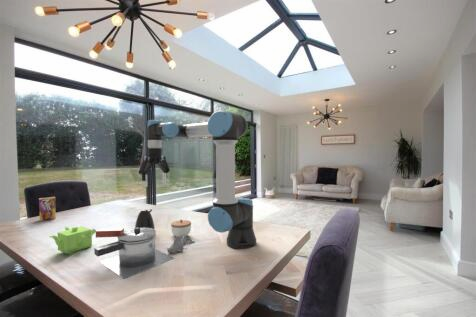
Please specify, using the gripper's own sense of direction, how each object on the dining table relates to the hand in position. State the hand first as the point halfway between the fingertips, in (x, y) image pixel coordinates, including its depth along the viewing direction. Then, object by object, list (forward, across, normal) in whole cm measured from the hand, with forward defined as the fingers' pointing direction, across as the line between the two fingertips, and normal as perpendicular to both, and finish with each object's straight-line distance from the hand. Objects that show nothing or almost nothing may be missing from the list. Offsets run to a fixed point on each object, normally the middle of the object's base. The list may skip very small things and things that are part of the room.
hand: (155, 185), depth 137 cm
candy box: (+28, +16, -91) cm, 96 cm away
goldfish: (+28, +8, +27) cm, 40 cm away
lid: (+17, +31, +18) cm, 40 cm away
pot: (+27, +33, +21) cm, 47 cm away
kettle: (+28, +36, -15) cm, 48 cm away
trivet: (+28, +28, +22) cm, 45 cm away
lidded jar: (+28, -4, +16) cm, 32 cm away
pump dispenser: (+28, +6, -1) cm, 29 cm away
